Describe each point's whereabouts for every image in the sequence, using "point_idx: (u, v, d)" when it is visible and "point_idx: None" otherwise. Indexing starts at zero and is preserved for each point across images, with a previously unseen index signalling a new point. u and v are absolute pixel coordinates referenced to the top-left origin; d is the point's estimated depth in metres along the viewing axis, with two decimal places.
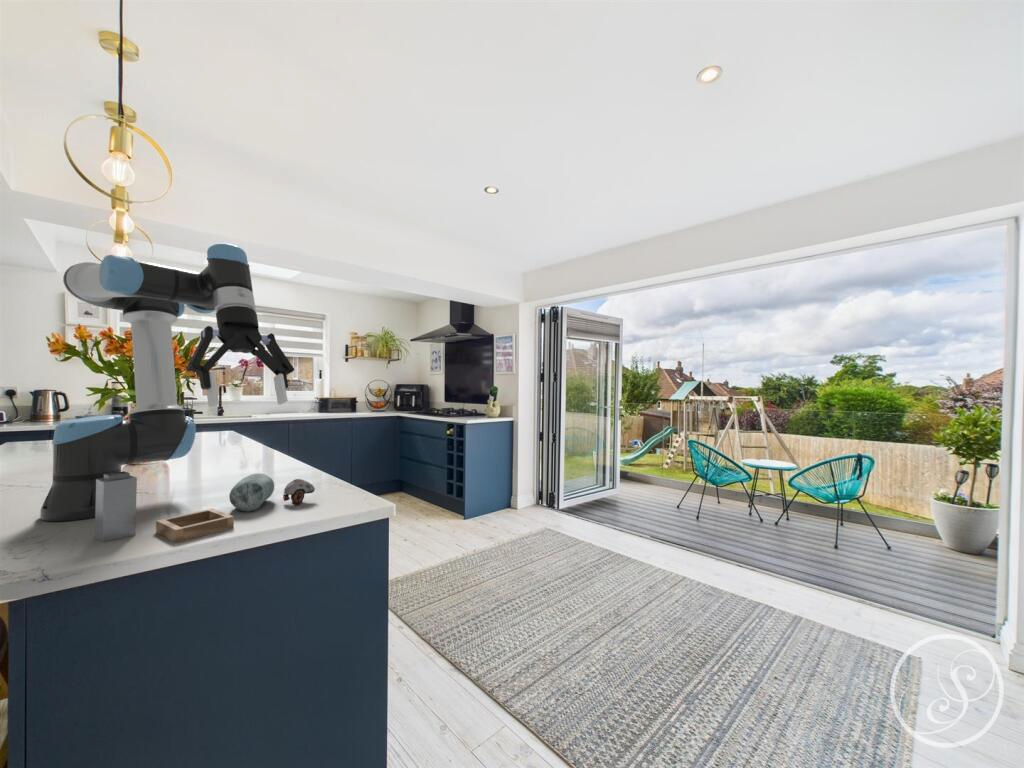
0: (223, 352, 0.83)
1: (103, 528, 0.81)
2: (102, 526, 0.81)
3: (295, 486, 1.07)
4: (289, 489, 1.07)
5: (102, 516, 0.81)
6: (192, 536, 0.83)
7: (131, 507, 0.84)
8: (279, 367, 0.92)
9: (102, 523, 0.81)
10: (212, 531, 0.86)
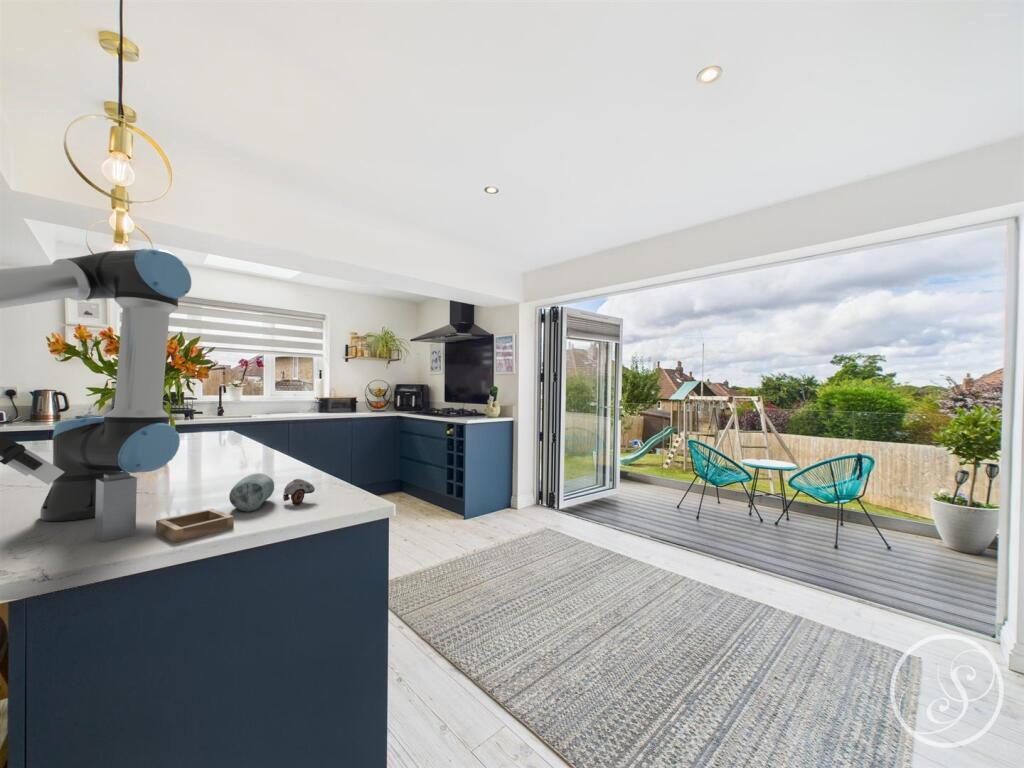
0: None
1: (103, 528, 0.81)
2: (102, 526, 0.81)
3: (295, 486, 1.07)
4: (289, 489, 1.06)
5: (102, 516, 0.81)
6: (192, 536, 0.83)
7: (131, 507, 0.84)
8: None
9: (102, 523, 0.81)
10: (212, 531, 0.86)
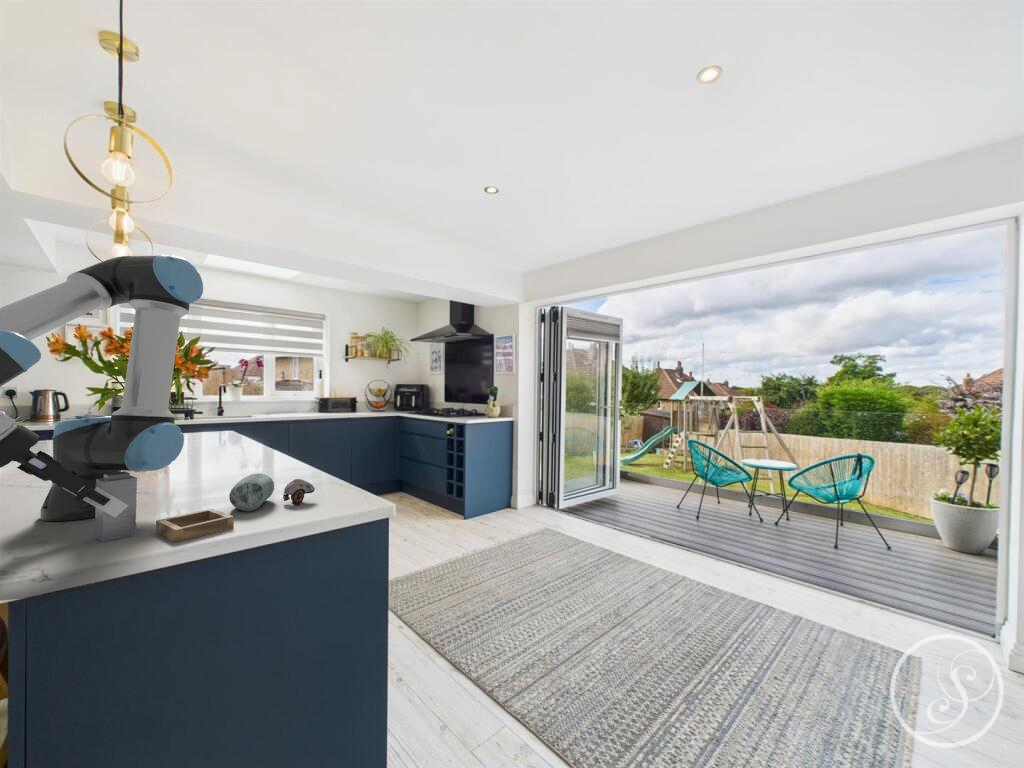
0: None
1: (103, 528, 0.81)
2: (102, 526, 0.81)
3: (295, 486, 1.07)
4: (289, 489, 1.07)
5: (102, 516, 0.81)
6: (192, 536, 0.83)
7: (131, 507, 0.84)
8: None
9: (102, 523, 0.81)
10: (212, 531, 0.86)
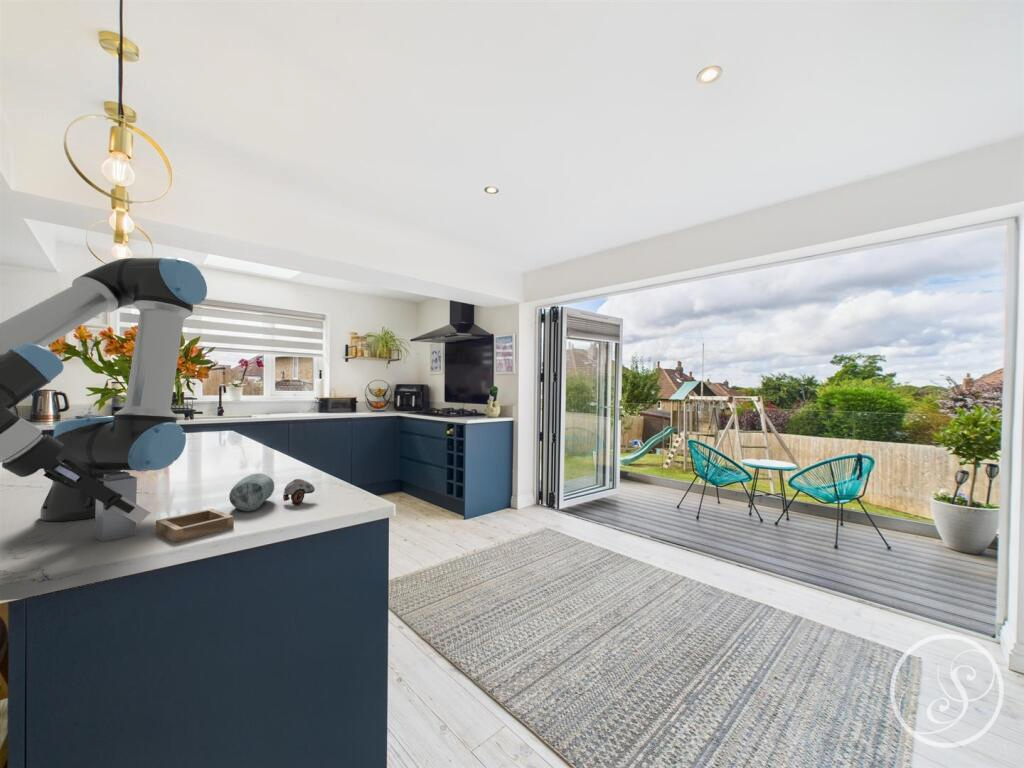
0: None
1: (103, 528, 0.81)
2: (102, 526, 0.81)
3: (295, 486, 1.07)
4: (289, 489, 1.07)
5: (102, 516, 0.81)
6: (192, 536, 0.83)
7: None
8: (100, 501, 0.80)
9: (102, 523, 0.81)
10: (212, 531, 0.86)
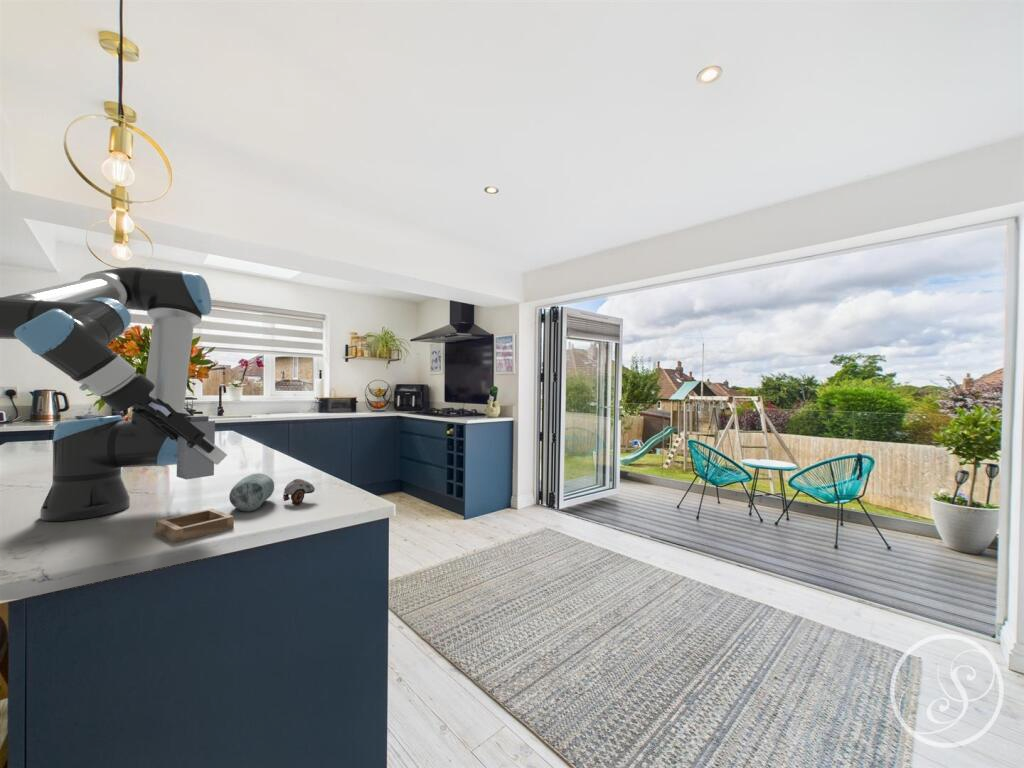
0: (160, 427, 0.85)
1: (187, 466, 0.85)
2: (186, 464, 0.85)
3: (295, 486, 1.07)
4: (289, 489, 1.07)
5: (186, 454, 0.85)
6: (192, 536, 0.83)
7: None
8: (185, 439, 0.84)
9: (186, 461, 0.85)
10: (212, 531, 0.86)
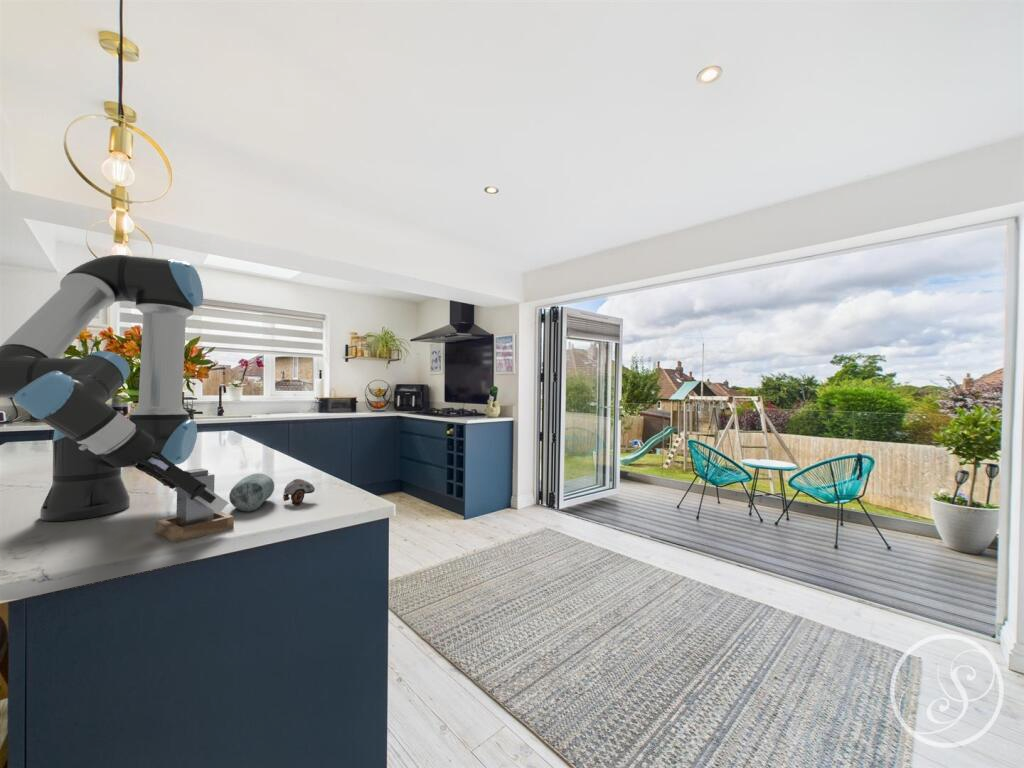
0: None
1: (186, 522, 0.85)
2: (185, 520, 0.85)
3: (295, 486, 1.07)
4: (289, 489, 1.07)
5: (185, 511, 0.85)
6: (192, 536, 0.83)
7: None
8: (186, 491, 0.83)
9: (185, 517, 0.85)
10: (212, 531, 0.86)
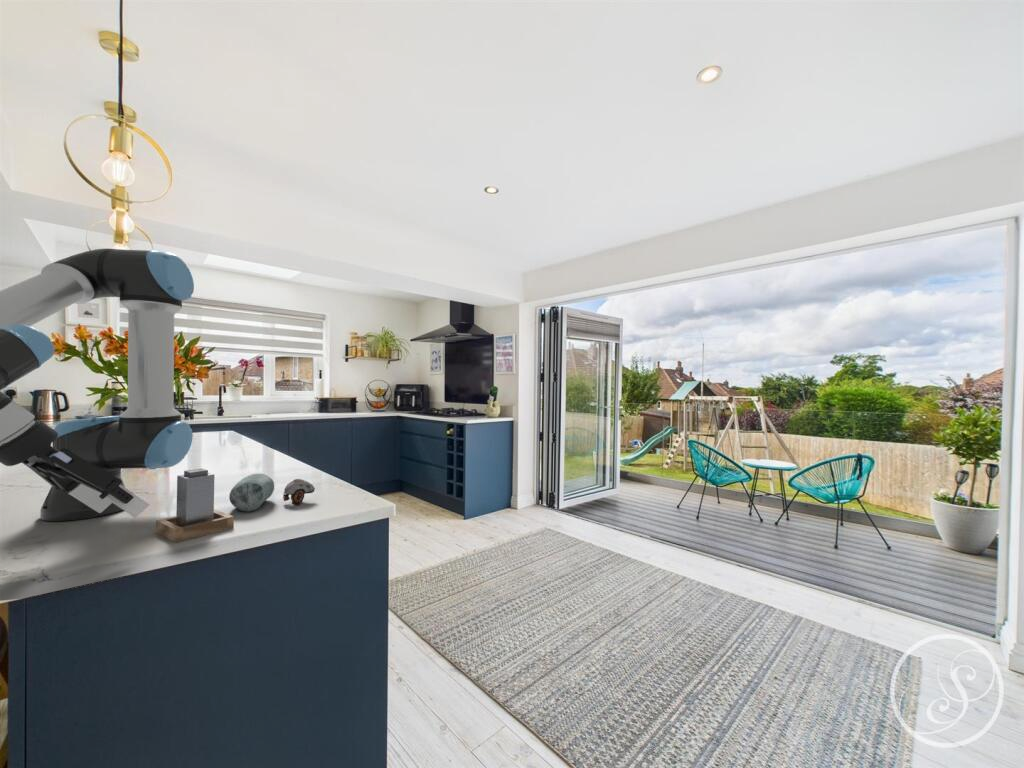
0: (53, 479, 0.73)
1: (186, 522, 0.85)
2: (185, 520, 0.85)
3: (295, 486, 1.07)
4: (289, 489, 1.07)
5: (185, 511, 0.85)
6: (192, 536, 0.83)
7: (210, 503, 0.88)
8: (96, 490, 0.70)
9: (185, 517, 0.85)
10: (212, 531, 0.86)
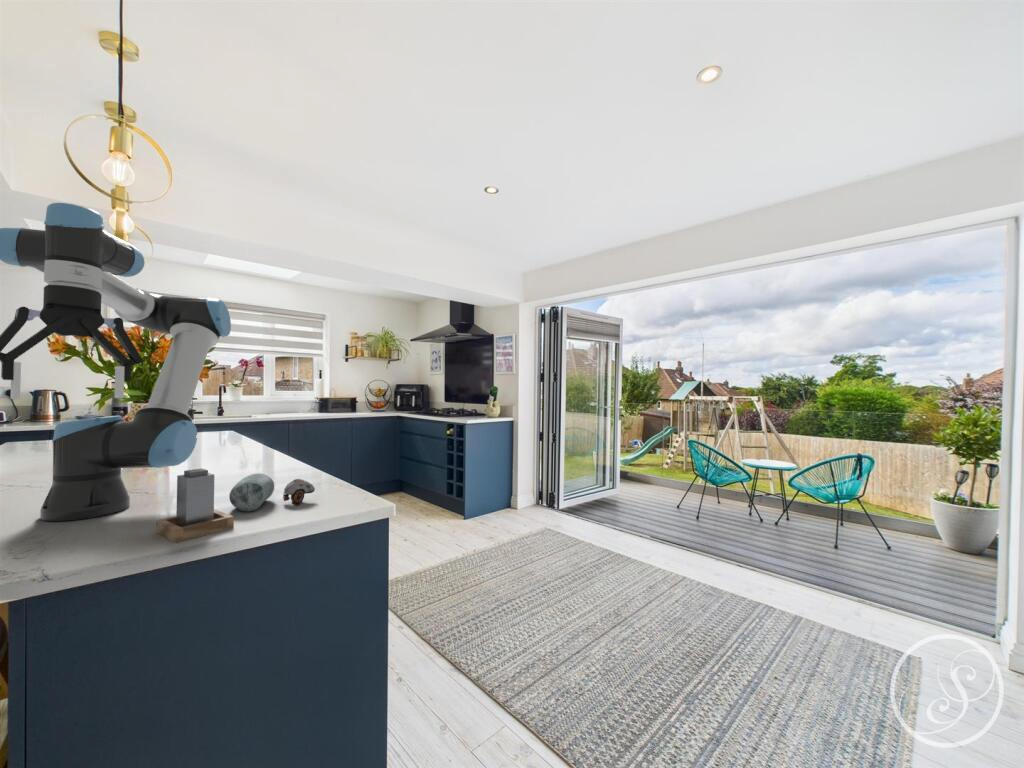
0: (39, 339, 0.73)
1: (186, 522, 0.85)
2: (185, 520, 0.85)
3: (295, 486, 1.07)
4: (289, 489, 1.07)
5: (185, 511, 0.85)
6: (192, 536, 0.83)
7: (210, 503, 0.88)
8: (121, 358, 0.83)
9: (185, 517, 0.85)
10: (212, 531, 0.86)
